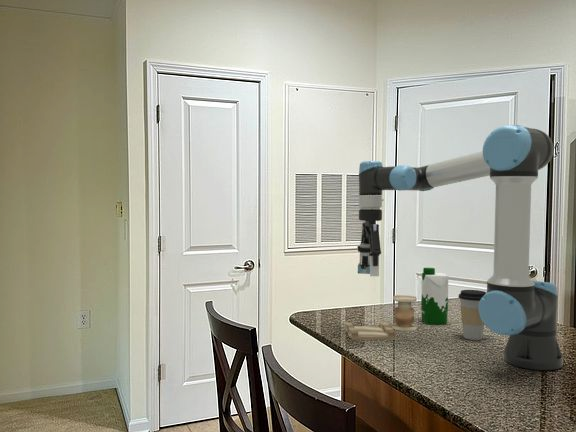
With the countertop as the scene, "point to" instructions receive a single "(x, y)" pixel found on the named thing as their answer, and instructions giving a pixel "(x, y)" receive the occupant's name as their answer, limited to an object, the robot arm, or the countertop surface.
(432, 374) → the countertop surface
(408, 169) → the robot arm
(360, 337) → the terminal board
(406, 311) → the bobbin
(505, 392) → the countertop surface
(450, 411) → the countertop surface
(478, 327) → the coffee cup
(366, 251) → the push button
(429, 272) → the milk carton
